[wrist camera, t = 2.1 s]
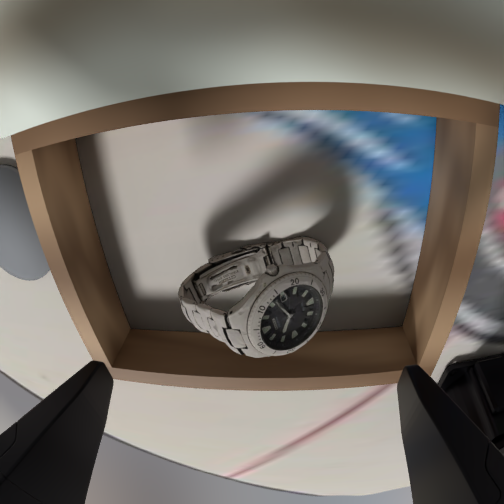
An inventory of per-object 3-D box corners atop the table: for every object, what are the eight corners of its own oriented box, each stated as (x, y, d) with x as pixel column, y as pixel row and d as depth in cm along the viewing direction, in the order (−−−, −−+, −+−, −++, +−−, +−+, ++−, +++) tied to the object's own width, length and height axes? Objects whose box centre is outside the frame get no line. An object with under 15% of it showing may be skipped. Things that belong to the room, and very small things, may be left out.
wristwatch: (334, 274, 14) (351, 357, 10) (206, 300, 16) (184, 381, 11) (319, 204, 13) (339, 274, 9) (179, 238, 14) (139, 312, 10)
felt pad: (74, 277, 16) (71, 281, 15) (0, 275, 16) (-4, 279, 16) (37, 153, 12) (32, 155, 12) (-35, 176, 13) (-39, 179, 13)
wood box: (414, 337, 16) (450, 446, 10) (121, 339, 18) (75, 438, 12) (451, -10, 7) (570, -42, 1) (44, 26, 9) (-83, 31, 3)
